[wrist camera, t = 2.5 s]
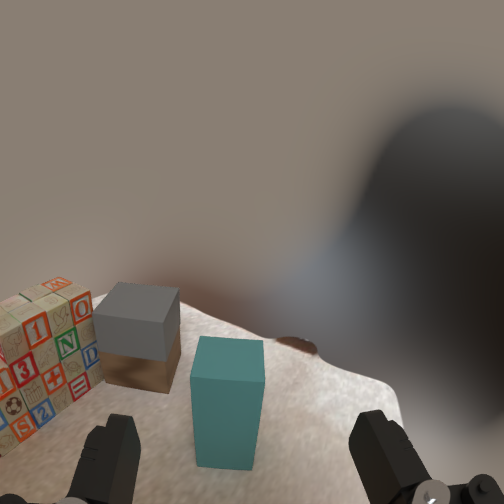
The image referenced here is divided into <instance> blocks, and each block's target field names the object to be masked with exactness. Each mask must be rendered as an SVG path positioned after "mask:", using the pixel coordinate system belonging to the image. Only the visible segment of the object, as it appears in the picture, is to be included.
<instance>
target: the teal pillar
mask: <svg viewBox="0 0 504 504" xmlns="http://www.w3.org/2000/svg"><path fill="white" fill-rule="evenodd" d="M190 386H191V401H192V415H193V427H194V438H195V449H196V459H197V466H199V467H208V468H219V469H233V470H252V466H253V460H254V454H255V448H256V441H257V435H258V428H259V422H260V415H261V408H262V401H263V394H264V387H265V369H264V350H263V340H248V339H233V338H220V337H208V336H200V338H199V342H198V346H197V350H196V354H195V358H194V362H193V366H192V370H191V374H190Z"/></svg>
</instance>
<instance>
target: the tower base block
mask: <svg viewBox="0 0 504 504" xmlns="http://www.w3.org/2000/svg"><path fill="white" fill-rule="evenodd" d="M98 354H99V358H100V362H101V366H102V370H103V374H104V378H105V382H106V383H109V384H114V385H119V386H124V387H129V388H134V389H140V390H146V391H152V392H158V393H165V394H169V391H170V388H171V385H172V382H173V378H174V375H175V372H176V368H177V365H178V362H179V359H180V356H181V344H180V326H179V329H178V331H177V334H176V337H175V340H174V342H173V345H172V348H171V351H170V353H169V356H168V359H167V362H163V361H156V360H149V359H142V358H135V357H129V356H123V355H117V354H111V353H106V352H101V351H98Z"/></svg>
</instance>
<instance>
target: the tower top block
mask: <svg viewBox="0 0 504 504" xmlns="http://www.w3.org/2000/svg"><path fill="white" fill-rule="evenodd" d="M92 318H93V324H94V329H95V334H96V339H97V343H98V348H99V351H101V352H106V353H111V354H117V355H123V356H129V357H135V358H142V359H149V360H156V361H163V362H167V359H168V356H169V353H170V351H171V348H172V345H173V342H174V340H175V337H176V334H177V331H178V329H179V326H180V297H179V288H173V287H162V286H152V285H142V284H132V283H123V282H118V283H117V284H116V285H115V286H114V288H113V289H112V290H111V291H110V292H109V293H108V294H107V296H106V297H105V298H104V299H103V300H102V301H101V303H100V304H99V305H98V306H97V307H96V308H95V310H94V311H93V312H92Z"/></svg>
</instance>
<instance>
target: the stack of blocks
mask: <svg viewBox="0 0 504 504" xmlns="http://www.w3.org/2000/svg"><path fill="white" fill-rule="evenodd" d="M92 312H93V307H92V300H91V293H90V290H89V289H86V288H84V287H82V286H79V285H78V284H76V283H72V282H71V281H68V280H66V279H64V278H61V277H57V278H54V279H52V280H50V281H47V282H45V283H43V284H37V285H35V286H32V287H30V288H28V289H26V290H23V291H21V292H20V293H19V294H17V295H14V296H12V297H10V298H7V299H5V300H3V301H1V302H0V457H1V456H4V455H5V454H7V453H8V452H9V451H11V450H12V449H13V448H15V447H16V446H17V445H18V444H19V443H21V442H22V441H24V440H25V439H27V438H28V437H29V436H31V435H32V434H33V433H35V432H36V431H37V430H38V429H39V428H40V427H42V426H43V425H44V424H46V423H47V422H48V421H50V420H51V419H52V418H53V417H55V416H56V415H57V414H58V413H60V412H61V411H62V410H64V409H65V408H66V407H68V406H69V405H70V404H71V403H73V402H75V401H76V400H77V399H79V398H80V397H81V396H83V395H84V394H85V393H87V392H88V391H89V390H90V389H92V388H93V387H95V386H96V385H97V384H99V383H100V382H101V381H102V380H104V379H105V378H104V374H103V370H102V366H101V362H100V358H99V354H98V351H99V348H98V343H97V339H96V334H95V329H94V324H93V318H92Z"/></svg>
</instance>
